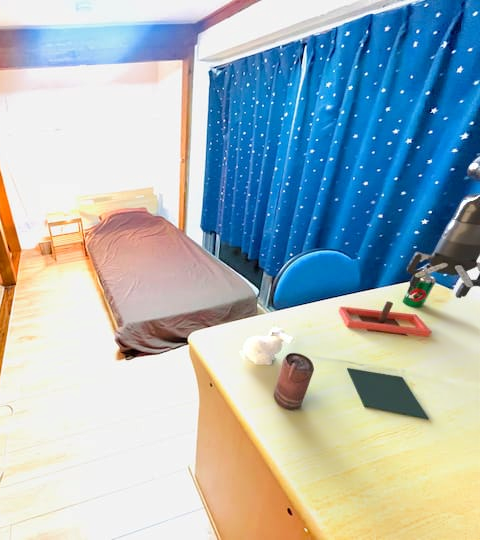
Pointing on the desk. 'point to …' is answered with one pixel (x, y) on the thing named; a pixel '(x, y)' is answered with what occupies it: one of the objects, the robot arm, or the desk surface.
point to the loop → (419, 330)
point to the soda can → (419, 292)
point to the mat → (386, 393)
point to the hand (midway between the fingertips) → (434, 291)
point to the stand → (382, 319)
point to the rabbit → (264, 347)
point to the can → (293, 381)
